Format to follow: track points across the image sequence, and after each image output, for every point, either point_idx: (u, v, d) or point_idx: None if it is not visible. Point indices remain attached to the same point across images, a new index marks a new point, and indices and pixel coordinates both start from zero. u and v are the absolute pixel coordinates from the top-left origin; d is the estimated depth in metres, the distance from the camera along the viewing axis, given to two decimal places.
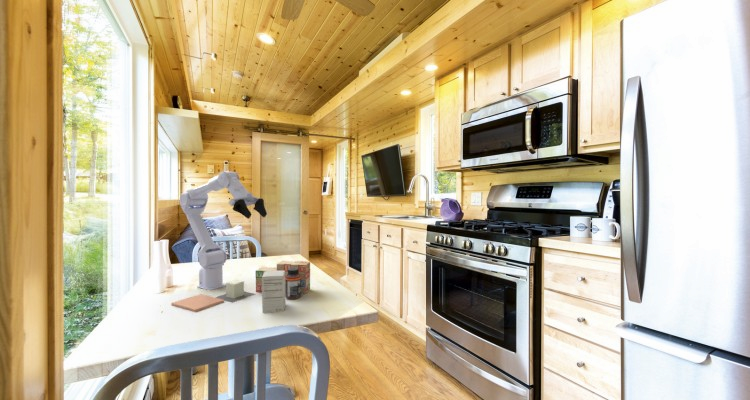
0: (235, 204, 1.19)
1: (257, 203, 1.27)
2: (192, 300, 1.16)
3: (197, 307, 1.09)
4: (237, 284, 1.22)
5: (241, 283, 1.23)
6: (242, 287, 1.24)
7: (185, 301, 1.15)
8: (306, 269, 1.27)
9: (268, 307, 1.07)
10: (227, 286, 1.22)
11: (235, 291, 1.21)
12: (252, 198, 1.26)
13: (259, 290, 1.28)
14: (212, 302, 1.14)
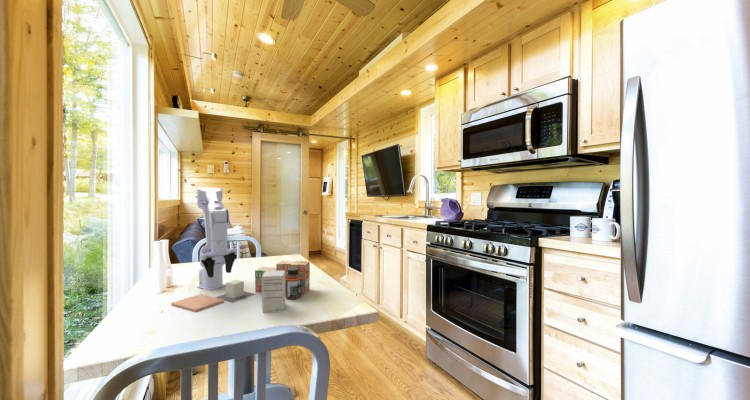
0: (204, 260, 1.16)
1: (229, 257, 1.25)
2: (192, 300, 1.16)
3: (197, 307, 1.09)
4: (237, 284, 1.22)
5: (241, 283, 1.23)
6: (242, 287, 1.24)
7: (185, 301, 1.15)
8: (306, 269, 1.27)
9: (268, 307, 1.07)
10: (227, 286, 1.22)
11: (235, 291, 1.21)
12: None
13: (258, 290, 1.28)
14: (212, 302, 1.14)
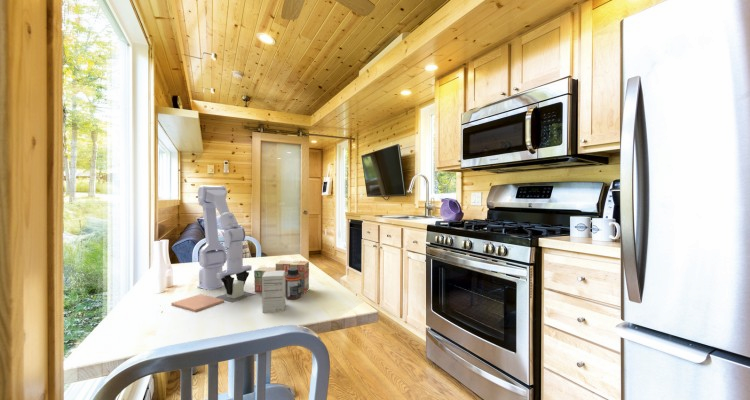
0: (224, 278, 1.19)
1: (241, 275, 1.25)
2: (192, 300, 1.16)
3: (197, 307, 1.09)
4: (237, 284, 1.22)
5: (241, 283, 1.23)
6: (242, 287, 1.24)
7: (185, 301, 1.15)
8: (305, 269, 1.27)
9: (268, 307, 1.07)
10: None
11: (235, 291, 1.21)
12: None
13: (258, 290, 1.28)
14: (212, 302, 1.14)
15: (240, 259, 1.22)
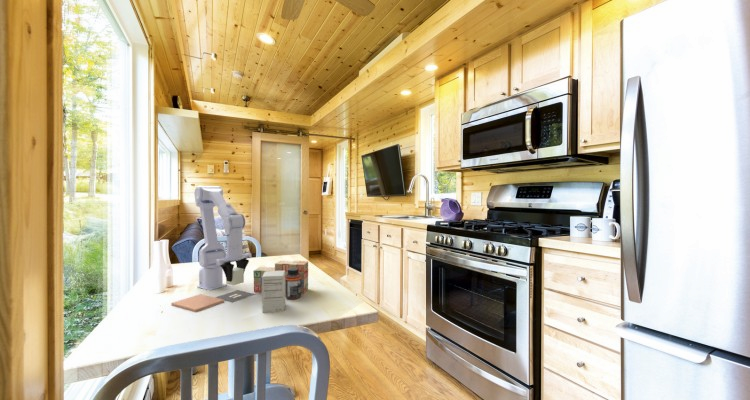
0: (224, 264, 1.19)
1: (241, 262, 1.25)
2: (192, 300, 1.16)
3: (197, 307, 1.09)
4: (237, 271, 1.21)
5: (241, 270, 1.23)
6: (242, 274, 1.24)
7: (185, 301, 1.15)
8: (304, 269, 1.28)
9: (268, 307, 1.07)
10: None
11: (235, 278, 1.21)
12: None
13: (257, 290, 1.28)
14: (212, 302, 1.14)
15: (240, 246, 1.22)
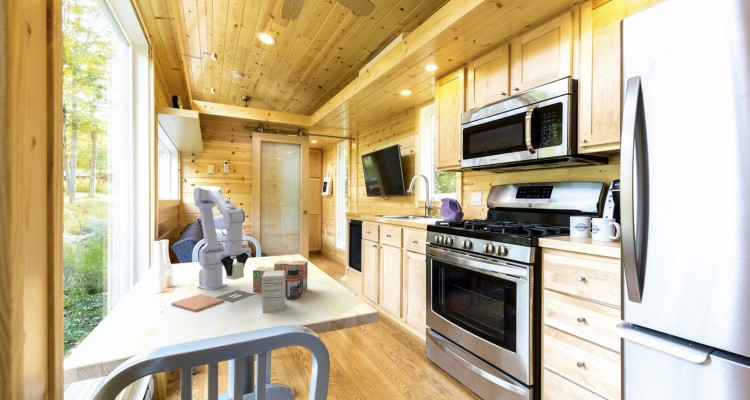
0: (224, 259, 1.19)
1: (241, 257, 1.25)
2: (192, 300, 1.16)
3: (197, 307, 1.09)
4: (237, 265, 1.21)
5: (241, 265, 1.23)
6: (242, 269, 1.23)
7: (185, 301, 1.15)
8: (304, 269, 1.28)
9: (268, 307, 1.07)
10: None
11: (235, 273, 1.21)
12: None
13: (256, 290, 1.28)
14: (212, 302, 1.14)
15: (240, 240, 1.22)
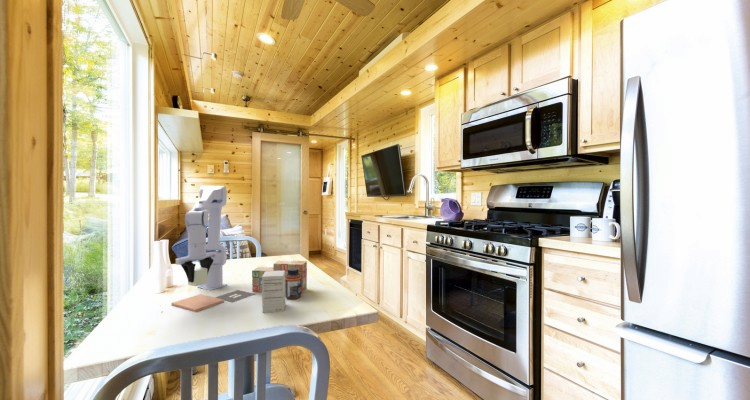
0: (184, 264, 1.10)
1: (204, 261, 1.16)
2: (192, 300, 1.16)
3: (197, 307, 1.09)
4: (199, 271, 1.13)
5: (204, 270, 1.15)
6: (205, 274, 1.15)
7: (185, 301, 1.15)
8: (303, 269, 1.28)
9: (268, 307, 1.07)
10: None
11: (197, 279, 1.12)
12: None
13: (256, 290, 1.28)
14: (212, 302, 1.14)
15: (203, 244, 1.13)
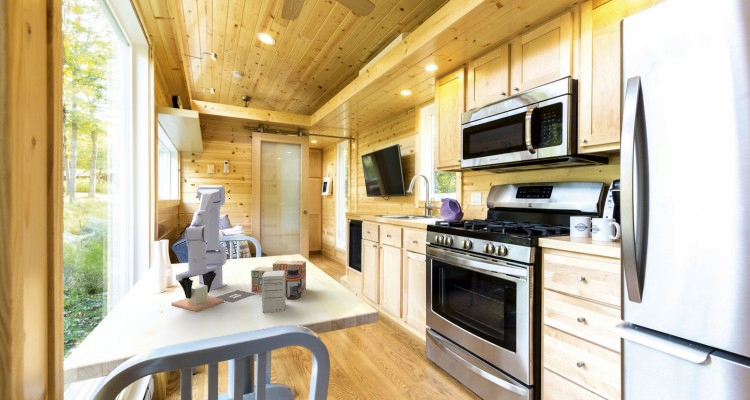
0: (181, 280, 1.10)
1: (207, 276, 1.17)
2: None
3: (197, 307, 1.09)
4: (199, 289, 1.13)
5: (204, 288, 1.15)
6: (205, 292, 1.15)
7: (185, 301, 1.15)
8: (302, 269, 1.28)
9: (268, 307, 1.07)
10: None
11: (197, 297, 1.12)
12: None
13: (255, 290, 1.28)
14: (212, 302, 1.14)
15: (203, 259, 1.14)
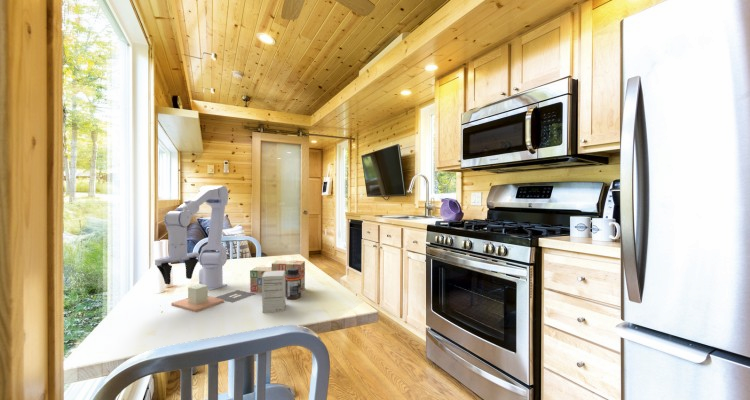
0: (160, 266, 1.08)
1: (189, 262, 1.16)
2: None
3: (197, 307, 1.09)
4: (199, 289, 1.13)
5: (204, 288, 1.15)
6: (205, 292, 1.15)
7: (185, 301, 1.15)
8: (301, 268, 1.28)
9: (268, 307, 1.07)
10: (189, 291, 1.14)
11: (197, 297, 1.12)
12: (186, 257, 1.14)
13: (254, 290, 1.28)
14: (212, 302, 1.14)
15: (183, 245, 1.12)
